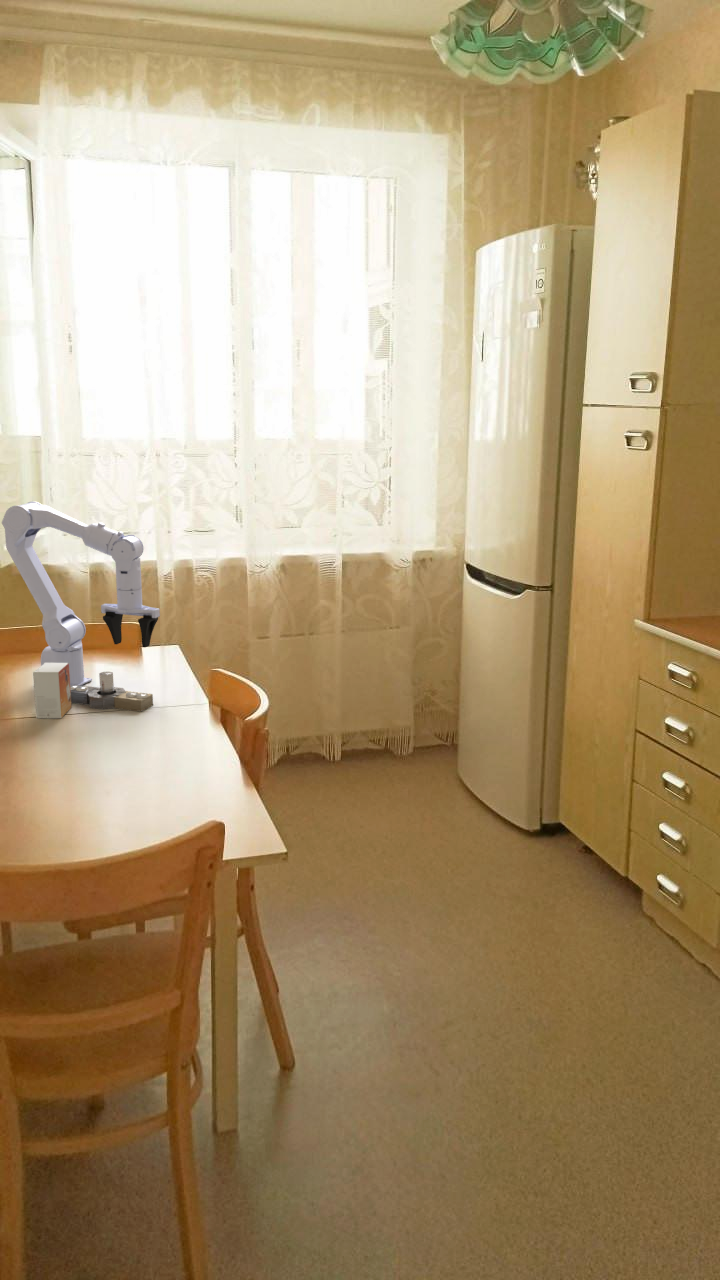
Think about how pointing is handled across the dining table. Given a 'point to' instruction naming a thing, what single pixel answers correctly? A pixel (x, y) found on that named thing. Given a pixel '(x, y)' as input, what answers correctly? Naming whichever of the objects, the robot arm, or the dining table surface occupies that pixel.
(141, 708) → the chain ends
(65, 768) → the dining table surface
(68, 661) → the robot arm
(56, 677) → the small box
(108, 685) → the pin
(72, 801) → the dining table surface
